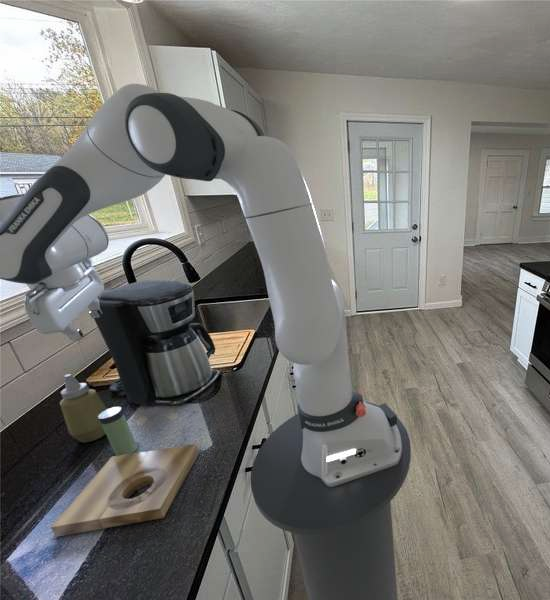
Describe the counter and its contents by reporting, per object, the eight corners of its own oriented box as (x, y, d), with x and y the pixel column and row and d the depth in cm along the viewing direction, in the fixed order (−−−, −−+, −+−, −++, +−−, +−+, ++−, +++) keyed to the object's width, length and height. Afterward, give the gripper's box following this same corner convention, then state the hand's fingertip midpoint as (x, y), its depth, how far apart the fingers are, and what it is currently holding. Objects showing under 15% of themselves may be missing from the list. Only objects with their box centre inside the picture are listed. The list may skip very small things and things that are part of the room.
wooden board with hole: (199, 452, 74) (196, 443, 74) (163, 518, 60) (159, 508, 59) (115, 464, 72) (111, 456, 71) (55, 537, 57) (50, 527, 56)
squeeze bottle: (85, 427, 84) (57, 370, 78) (122, 420, 86) (97, 363, 80) (66, 450, 77) (33, 388, 70) (106, 441, 79) (78, 381, 73)
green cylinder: (141, 443, 78) (125, 405, 74) (131, 456, 74) (113, 417, 70) (123, 445, 77) (106, 407, 73) (111, 459, 73) (92, 420, 69)
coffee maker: (207, 402, 92) (173, 294, 80) (77, 423, 85) (20, 309, 74) (228, 362, 113) (204, 272, 101) (125, 377, 106) (87, 283, 95)
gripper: (41, 293, 59) (81, 350, 66) (94, 255, 76) (121, 303, 83) (-1, 299, 57) (44, 357, 64) (62, 259, 74) (92, 308, 81)
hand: (88, 326), depth 74 cm, fingers open, 8 cm apart
